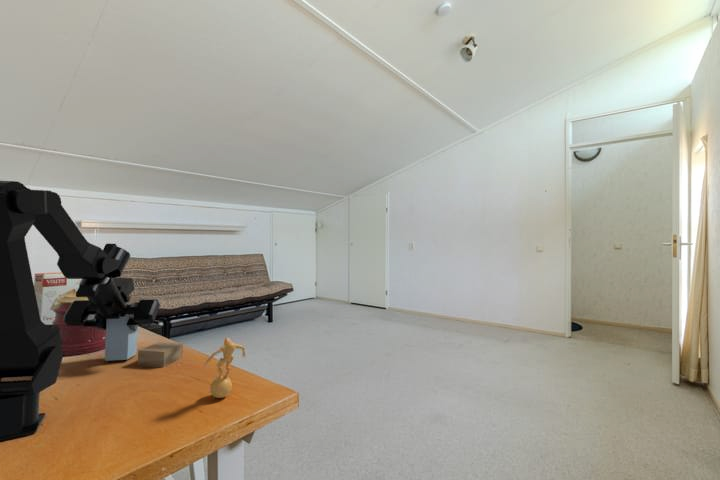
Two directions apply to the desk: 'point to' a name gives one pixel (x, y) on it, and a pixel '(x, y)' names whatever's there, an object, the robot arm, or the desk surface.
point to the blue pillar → (120, 339)
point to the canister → (77, 331)
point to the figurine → (221, 383)
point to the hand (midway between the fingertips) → (125, 329)
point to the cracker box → (52, 293)
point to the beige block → (160, 354)
